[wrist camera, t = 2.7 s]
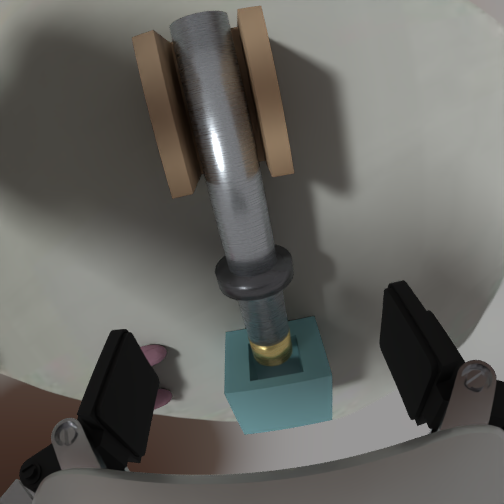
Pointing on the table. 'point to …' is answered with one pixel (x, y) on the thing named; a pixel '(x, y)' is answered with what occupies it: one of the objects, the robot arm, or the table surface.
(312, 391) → the socket block
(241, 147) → the rod
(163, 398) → the video game controller
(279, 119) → the wooden cradle block
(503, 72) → the table surface
